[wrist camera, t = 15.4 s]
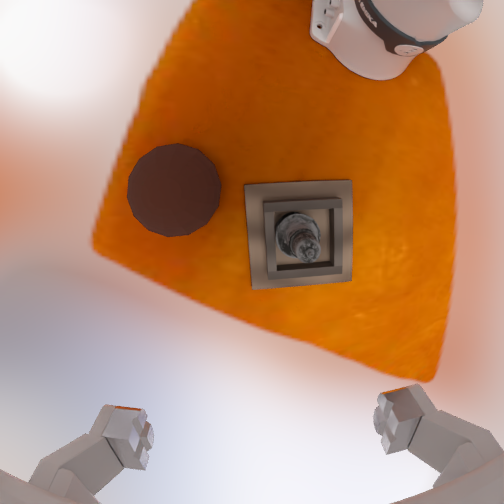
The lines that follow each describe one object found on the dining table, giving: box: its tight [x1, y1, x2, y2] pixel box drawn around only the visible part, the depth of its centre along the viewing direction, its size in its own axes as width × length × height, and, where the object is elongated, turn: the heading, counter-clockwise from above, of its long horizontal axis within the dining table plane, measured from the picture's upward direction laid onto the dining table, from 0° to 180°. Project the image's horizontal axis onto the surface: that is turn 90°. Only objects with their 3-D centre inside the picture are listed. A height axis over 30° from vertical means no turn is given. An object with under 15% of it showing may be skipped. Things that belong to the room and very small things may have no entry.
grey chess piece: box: [275, 212, 321, 263], centre depth 36 cm, size 6×6×12 cm
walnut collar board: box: [244, 180, 353, 290], centre depth 42 cm, size 15×15×4 cm
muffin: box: [127, 143, 221, 237], centre depth 36 cm, size 12×11×10 cm
